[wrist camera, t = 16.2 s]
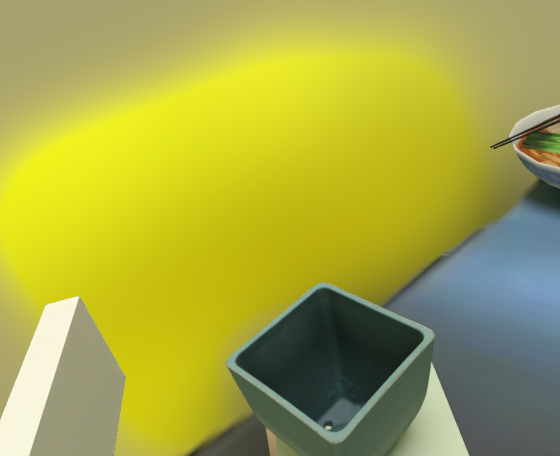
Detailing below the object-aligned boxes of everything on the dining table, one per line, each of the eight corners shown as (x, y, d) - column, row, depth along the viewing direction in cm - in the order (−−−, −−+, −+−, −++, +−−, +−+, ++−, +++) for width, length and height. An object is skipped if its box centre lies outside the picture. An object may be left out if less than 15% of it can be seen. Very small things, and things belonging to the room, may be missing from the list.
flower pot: (444, 430, 32) (438, 330, 27) (360, 543, 27) (336, 446, 23) (340, 369, 38) (320, 278, 33) (257, 453, 33) (221, 361, 29)
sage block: (429, 392, 40) (426, 350, 38) (489, 553, 30) (490, 510, 27) (285, 417, 41) (273, 378, 38) (296, 581, 31) (279, 542, 28)
